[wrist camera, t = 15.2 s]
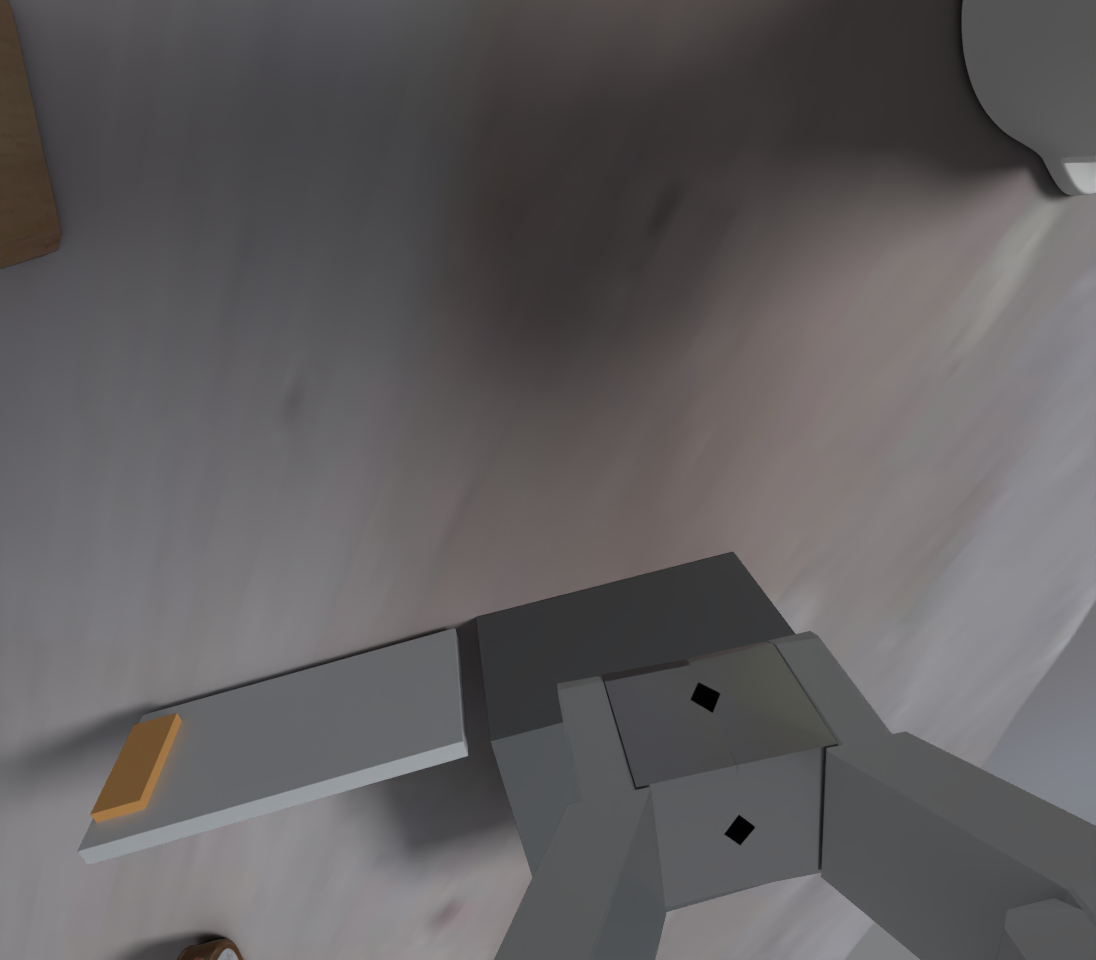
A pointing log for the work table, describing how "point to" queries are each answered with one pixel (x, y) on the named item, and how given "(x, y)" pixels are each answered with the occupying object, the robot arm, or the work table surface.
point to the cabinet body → (601, 667)
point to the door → (282, 745)
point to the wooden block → (21, 161)
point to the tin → (212, 951)
